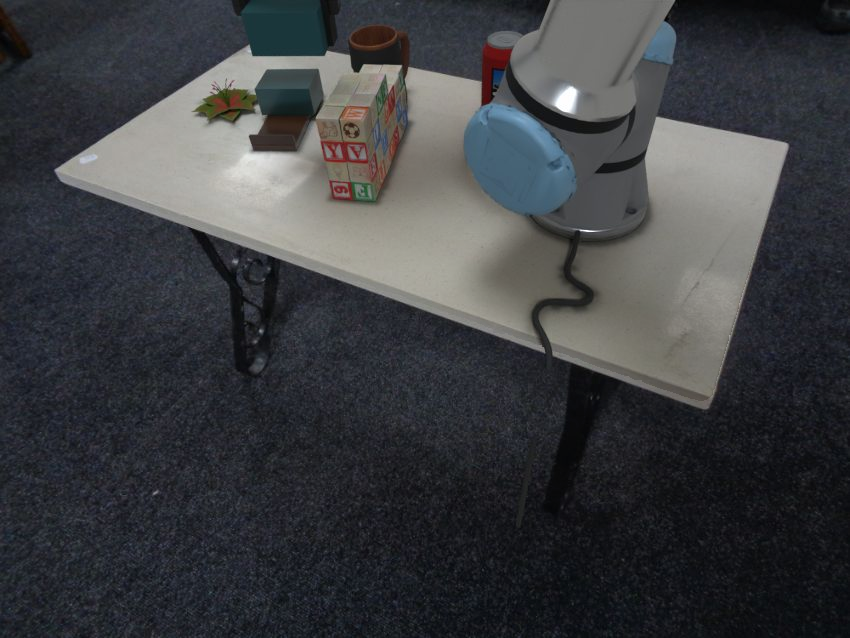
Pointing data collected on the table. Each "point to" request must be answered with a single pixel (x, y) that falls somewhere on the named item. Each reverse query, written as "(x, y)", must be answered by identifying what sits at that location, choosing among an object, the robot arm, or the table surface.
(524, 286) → the table surface
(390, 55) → the mug
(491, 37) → the beverage can
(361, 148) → the stack of blocks
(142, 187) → the table surface
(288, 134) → the teal lidded box
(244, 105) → the lily flower
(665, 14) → the robot arm
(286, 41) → the block
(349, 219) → the table surface
